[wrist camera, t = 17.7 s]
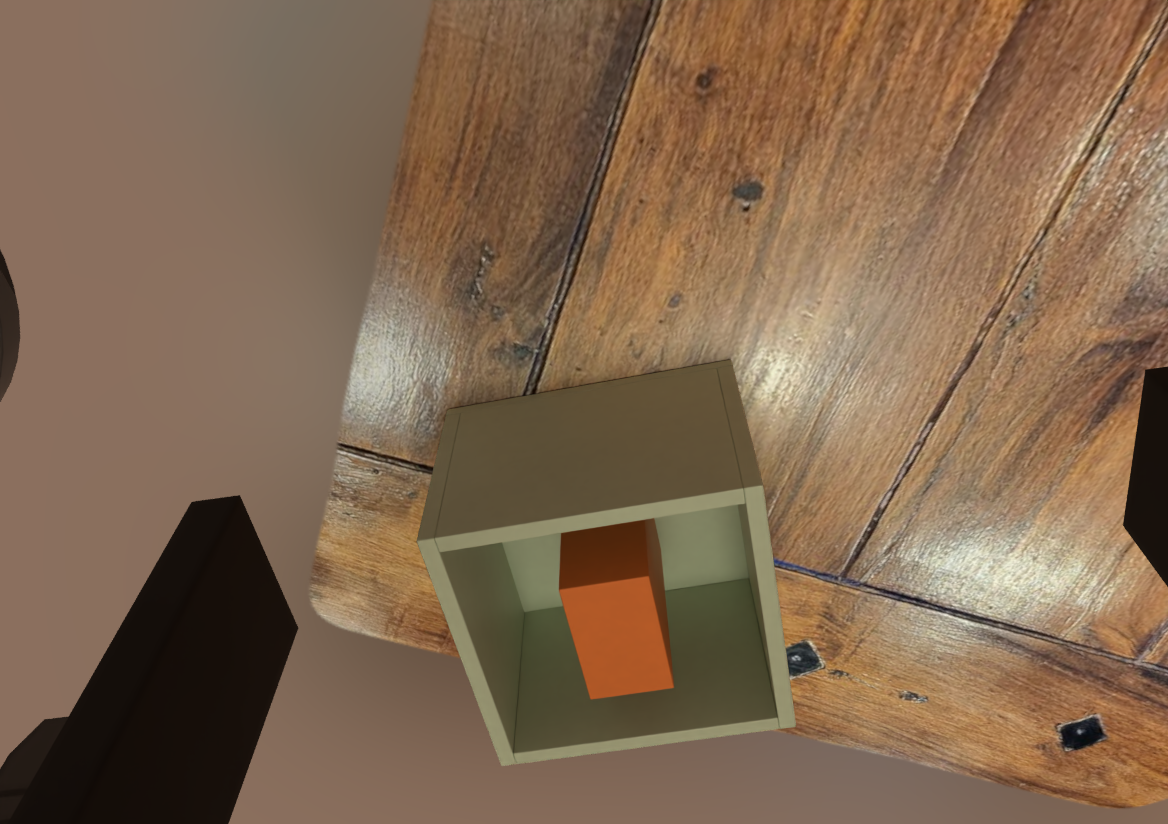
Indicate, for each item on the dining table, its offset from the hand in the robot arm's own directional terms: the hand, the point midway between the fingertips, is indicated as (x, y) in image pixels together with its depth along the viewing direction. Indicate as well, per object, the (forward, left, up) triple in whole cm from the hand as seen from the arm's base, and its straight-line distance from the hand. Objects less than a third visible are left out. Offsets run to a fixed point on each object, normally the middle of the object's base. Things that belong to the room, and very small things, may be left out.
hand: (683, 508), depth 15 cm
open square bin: (-5, -23, -31) cm, 39 cm away
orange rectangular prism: (-5, -23, -31) cm, 38 cm away
